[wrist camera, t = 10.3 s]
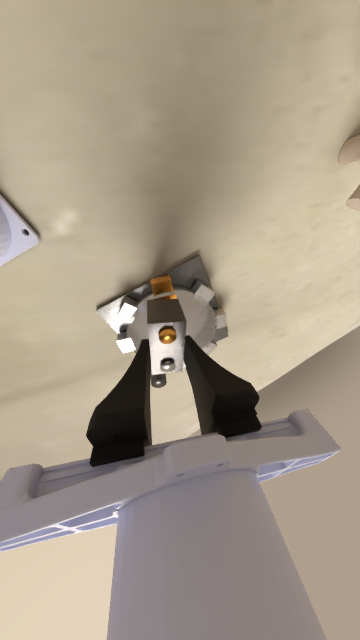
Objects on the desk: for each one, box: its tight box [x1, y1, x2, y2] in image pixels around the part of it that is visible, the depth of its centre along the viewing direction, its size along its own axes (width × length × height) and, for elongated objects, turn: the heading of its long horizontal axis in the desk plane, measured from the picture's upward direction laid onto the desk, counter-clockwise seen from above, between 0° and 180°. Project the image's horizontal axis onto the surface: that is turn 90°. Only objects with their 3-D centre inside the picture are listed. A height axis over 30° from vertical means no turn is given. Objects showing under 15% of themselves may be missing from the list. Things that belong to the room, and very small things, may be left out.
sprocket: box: [116, 275, 226, 388], centre depth 19 cm, size 15×15×6 cm
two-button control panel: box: [147, 298, 187, 375], centre depth 15 cm, size 6×3×4 cm, turn 178°
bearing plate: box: [96, 255, 228, 342], centre depth 22 cm, size 14×14×1 cm
